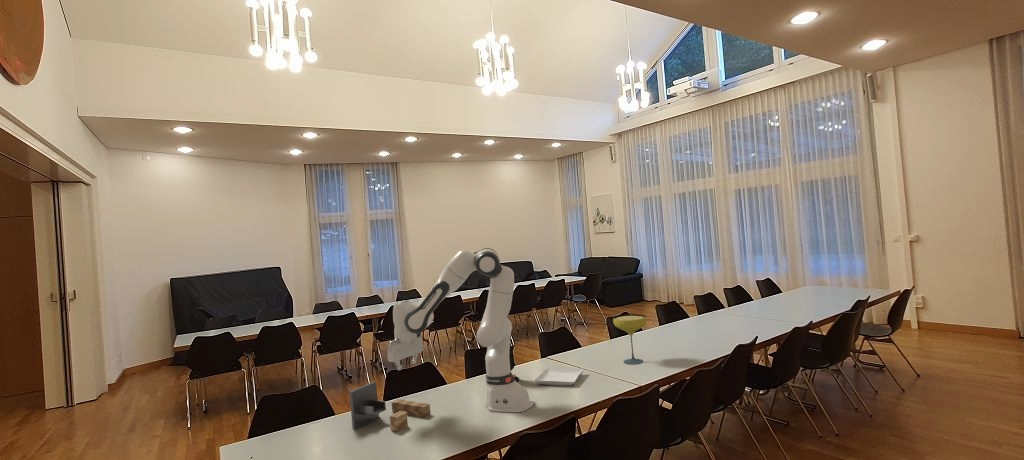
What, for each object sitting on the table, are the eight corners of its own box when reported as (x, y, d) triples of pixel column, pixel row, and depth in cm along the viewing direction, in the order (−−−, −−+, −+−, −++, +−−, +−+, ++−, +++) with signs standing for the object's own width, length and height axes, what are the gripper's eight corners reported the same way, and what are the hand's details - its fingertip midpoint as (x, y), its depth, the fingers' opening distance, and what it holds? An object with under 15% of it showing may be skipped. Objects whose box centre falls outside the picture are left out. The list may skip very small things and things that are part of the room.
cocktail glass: (654, 364, 260) (649, 318, 260) (620, 367, 260) (616, 321, 261) (645, 356, 278) (641, 313, 278) (614, 358, 278) (610, 315, 279)
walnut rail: (430, 415, 215) (429, 404, 215) (424, 418, 212) (423, 407, 212) (398, 409, 226) (397, 399, 226) (392, 412, 223) (391, 402, 223)
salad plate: (534, 386, 242) (533, 380, 242) (547, 373, 262) (546, 367, 262) (575, 388, 234) (574, 381, 234) (585, 375, 254) (584, 368, 254)
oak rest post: (407, 426, 204) (406, 411, 204) (397, 431, 199) (396, 417, 199) (400, 424, 206) (399, 410, 206) (390, 430, 201) (389, 416, 201)
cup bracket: (392, 418, 214) (389, 383, 214) (368, 431, 202) (365, 393, 202) (376, 416, 219) (373, 381, 219) (352, 428, 207) (349, 391, 207)
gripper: (393, 342, 209) (396, 374, 209) (424, 331, 226) (426, 361, 226) (382, 341, 212) (385, 372, 212) (414, 331, 230) (416, 360, 229)
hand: (407, 366), depth 219 cm, fingers open, 8 cm apart
